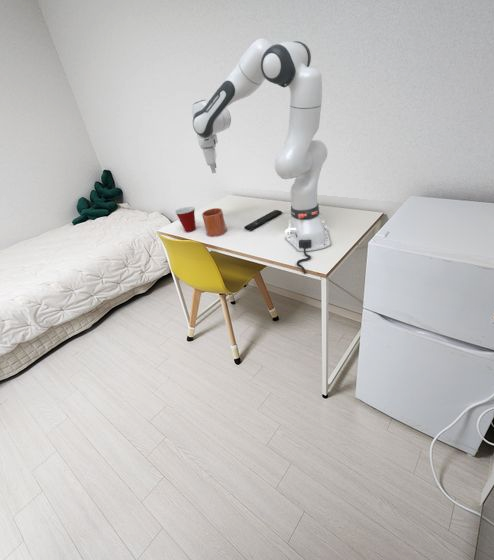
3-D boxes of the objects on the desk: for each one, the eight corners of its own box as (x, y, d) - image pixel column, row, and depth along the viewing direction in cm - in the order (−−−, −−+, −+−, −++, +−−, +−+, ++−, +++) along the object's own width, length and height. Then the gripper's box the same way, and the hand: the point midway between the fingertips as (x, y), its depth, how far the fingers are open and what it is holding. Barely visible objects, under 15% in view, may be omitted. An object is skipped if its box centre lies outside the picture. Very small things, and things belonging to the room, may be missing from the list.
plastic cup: (203, 225, 172) (197, 204, 165) (195, 233, 163) (189, 212, 157) (185, 225, 175) (179, 205, 169) (177, 234, 167) (171, 213, 160)
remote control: (244, 229, 158) (244, 226, 157) (275, 211, 170) (275, 209, 169) (251, 231, 154) (251, 228, 154) (282, 213, 167) (282, 211, 166)
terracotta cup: (226, 234, 157) (222, 213, 151) (207, 238, 157) (201, 217, 151) (226, 226, 165) (221, 206, 159) (207, 230, 165) (202, 210, 159)
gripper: (202, 138, 153) (209, 166, 161) (199, 145, 136) (207, 176, 143) (215, 135, 153) (221, 164, 160) (213, 142, 136) (220, 174, 143)
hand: (214, 170), depth 152 cm, fingers open, 8 cm apart
